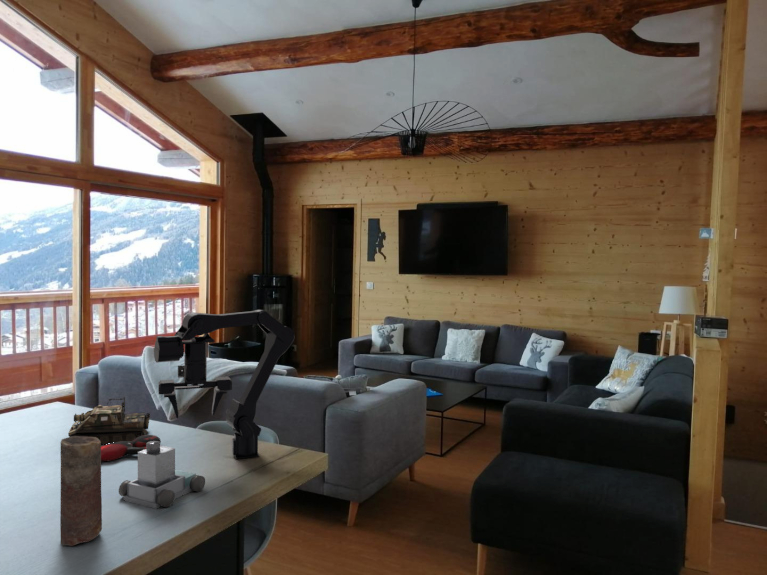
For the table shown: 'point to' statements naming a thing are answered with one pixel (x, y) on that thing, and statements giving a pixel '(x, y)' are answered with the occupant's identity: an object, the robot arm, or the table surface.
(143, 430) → the model tank
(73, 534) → the candle
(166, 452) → the block
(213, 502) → the table surface
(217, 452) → the table surface
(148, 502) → the chassis
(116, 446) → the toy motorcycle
